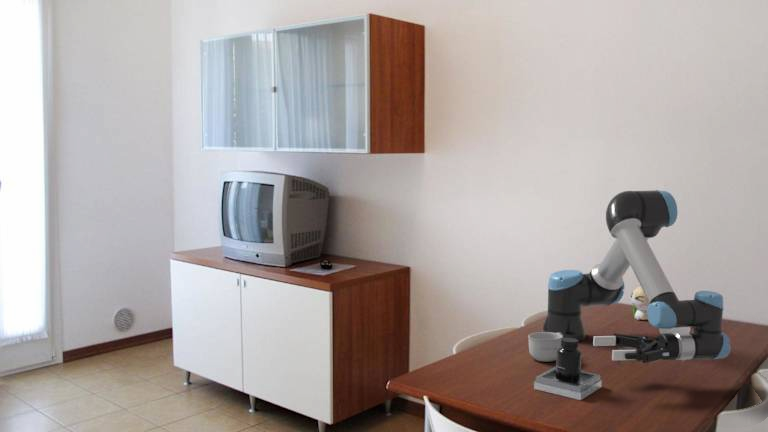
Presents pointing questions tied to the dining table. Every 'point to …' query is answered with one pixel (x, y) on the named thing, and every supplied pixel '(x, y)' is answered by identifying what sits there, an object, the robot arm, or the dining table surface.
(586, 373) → the shadow box frame
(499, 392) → the dining table surface
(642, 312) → the kitten
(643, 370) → the dining table surface
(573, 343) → the supplement bottle
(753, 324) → the dining table surface
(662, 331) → the lidded jar
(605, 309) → the dining table surface
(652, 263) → the robot arm
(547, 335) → the teacup
